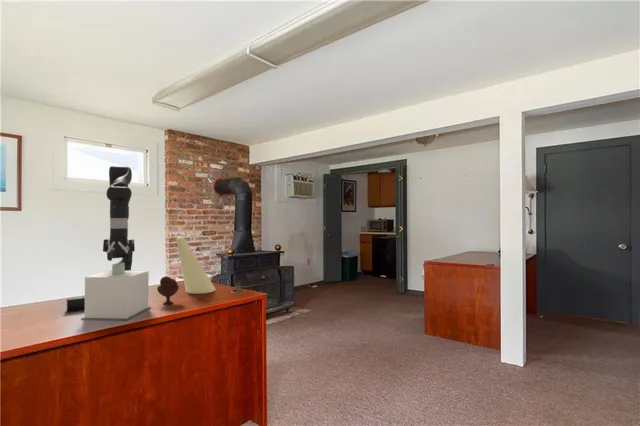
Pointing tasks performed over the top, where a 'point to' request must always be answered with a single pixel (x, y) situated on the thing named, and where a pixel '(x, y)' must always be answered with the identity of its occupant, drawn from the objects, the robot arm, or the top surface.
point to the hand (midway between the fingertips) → (118, 260)
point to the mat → (116, 318)
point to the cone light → (193, 270)
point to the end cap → (76, 304)
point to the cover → (116, 293)
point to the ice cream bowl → (167, 288)
